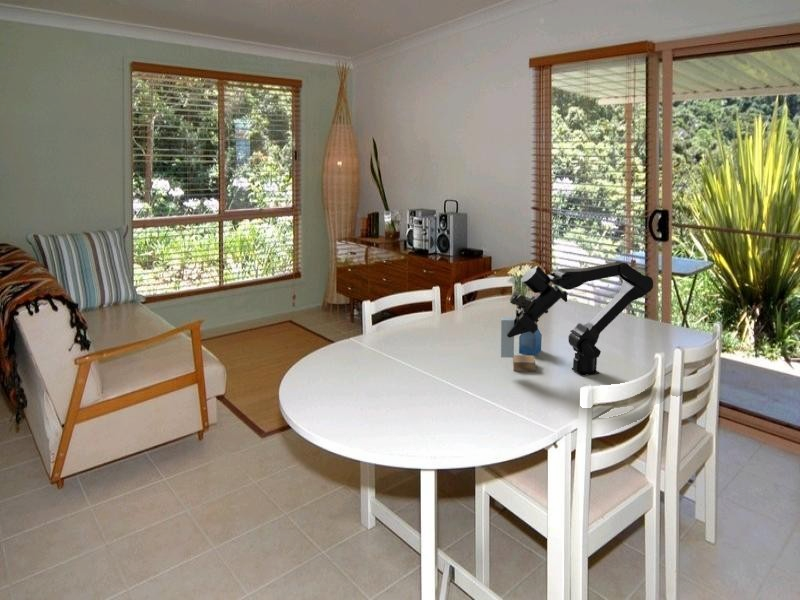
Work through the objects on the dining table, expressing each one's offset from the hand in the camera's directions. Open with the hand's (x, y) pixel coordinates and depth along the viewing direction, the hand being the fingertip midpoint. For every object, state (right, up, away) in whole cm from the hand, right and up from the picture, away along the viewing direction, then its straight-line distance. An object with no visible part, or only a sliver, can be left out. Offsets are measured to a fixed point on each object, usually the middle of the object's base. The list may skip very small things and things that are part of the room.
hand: (507, 334), depth 181 cm
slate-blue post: (0, -7, +2) cm, 7 cm away
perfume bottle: (+13, -8, +24) cm, 28 cm away
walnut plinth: (+7, -12, +9) cm, 16 cm away
